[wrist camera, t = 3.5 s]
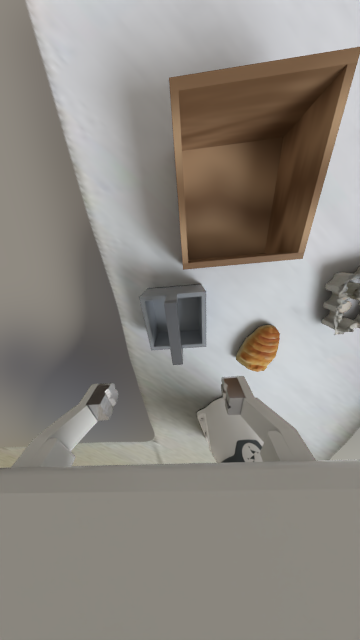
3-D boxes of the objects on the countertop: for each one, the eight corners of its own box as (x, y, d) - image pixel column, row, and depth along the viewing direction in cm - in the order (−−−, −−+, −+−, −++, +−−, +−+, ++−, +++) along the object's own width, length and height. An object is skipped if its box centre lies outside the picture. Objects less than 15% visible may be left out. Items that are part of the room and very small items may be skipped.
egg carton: (359, 318, 25) (390, 330, 22) (315, 329, 26) (337, 341, 23) (378, 258, 21) (420, 260, 17) (324, 273, 22) (352, 278, 18)
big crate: (265, 257, 21) (302, 258, 14) (182, 264, 21) (183, 269, 15) (286, 132, 15) (361, 46, 9) (174, 148, 16) (169, 77, 9)
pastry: (250, 319, 26) (261, 329, 22) (283, 325, 26) (299, 337, 23) (232, 357, 30) (239, 371, 26) (261, 362, 30) (271, 376, 27)
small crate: (202, 330, 26) (210, 362, 19) (156, 334, 27) (145, 366, 19) (201, 284, 22) (211, 299, 15) (147, 288, 23) (130, 306, 15)
